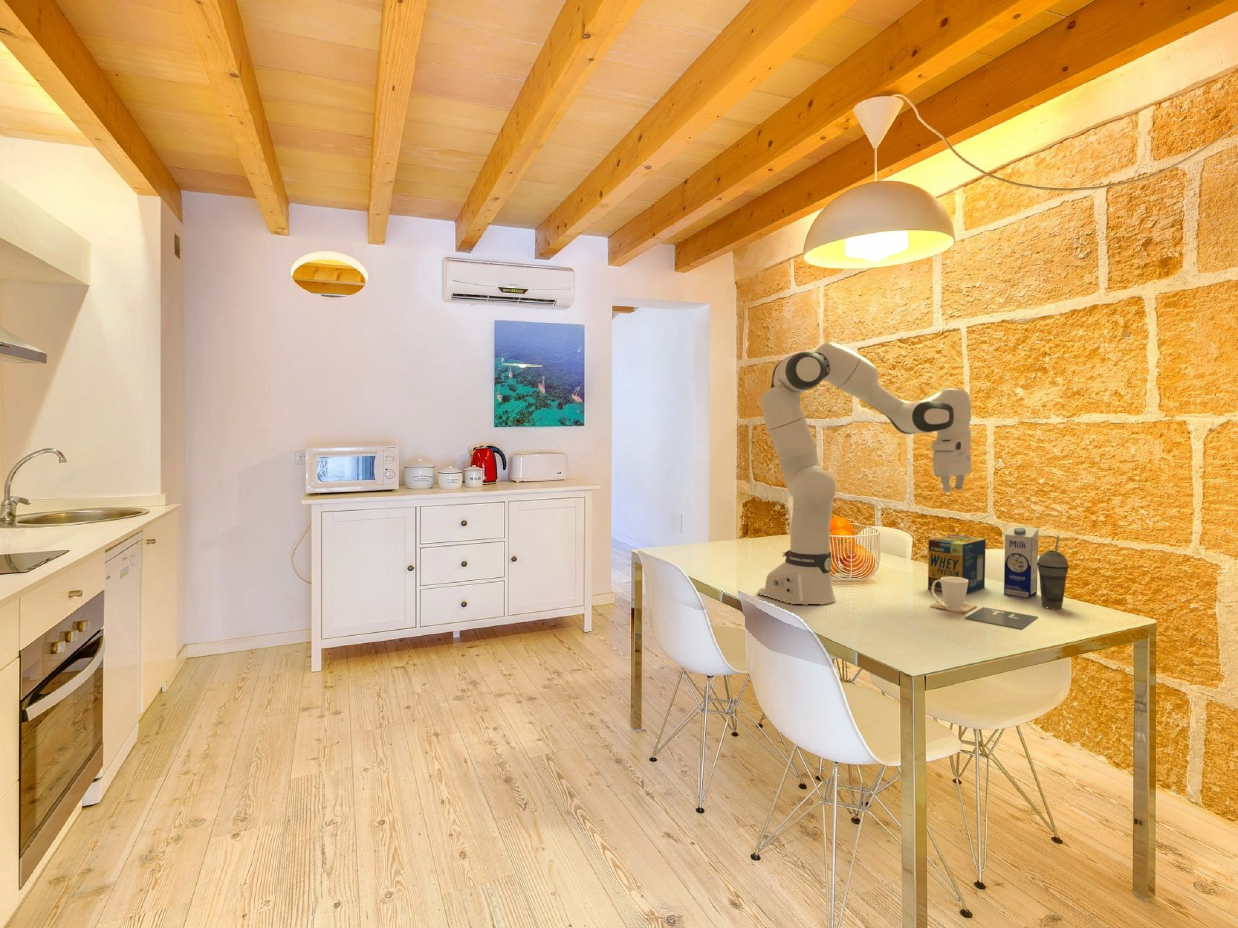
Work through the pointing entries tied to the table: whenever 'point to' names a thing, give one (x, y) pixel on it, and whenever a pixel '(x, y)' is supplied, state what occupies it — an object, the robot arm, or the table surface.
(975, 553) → the protein box
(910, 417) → the robot arm
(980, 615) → the tile
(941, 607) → the cork pad
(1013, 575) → the milk carton
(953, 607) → the cup
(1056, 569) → the beverage cup
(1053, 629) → the table surface
